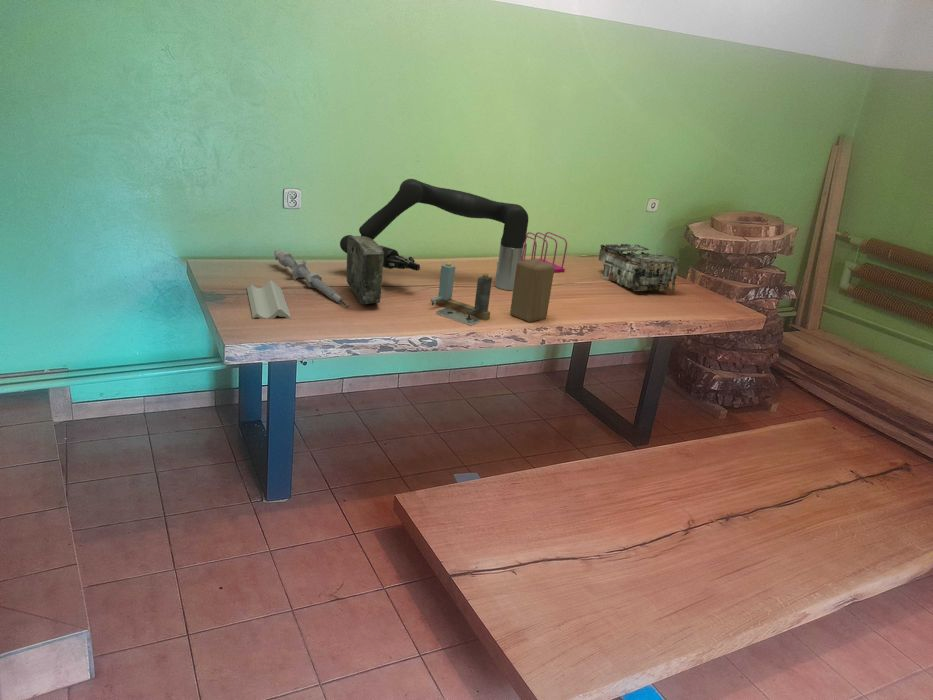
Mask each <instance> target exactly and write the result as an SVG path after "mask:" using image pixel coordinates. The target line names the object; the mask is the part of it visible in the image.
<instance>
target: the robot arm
mask: <svg viewBox="0 0 933 700" xmlns="http://www.w3.org/2000/svg"><path fill="white" fill-rule="evenodd" d="M416 204H424V205H430V206H433V207H436V208H438V209H441V210H442V211H444V212H448V213H450V214H453V215H455V216H459V217H464V218H467V219H468V218H469V219H483V220H484V219H486V220H487V219H488V220H493V221H496V222H499V223H502V224H504V225H503V231H502V236H501V239H500V246H499V253H498V254H499V255H498V261H497V263H496V270H495V271H496V272H495V280H494V287H496V288H498V289H500V290H505V291H507V290H508V291H513V288H514V281H515V274H516V267H517V263H518V262H519V261H521V260H522V254H523V248H524V243H525V239H526V234H527V233H528V232H527V231H528V226H529V215H528V212H527V211H526V209H525V208H524V207H523V206H522V205H521V204H520V205H519V204H517V203H509V202H502V201H497V200H493V199H489V198H486V197H484V196H480V195H477V194H474V193H470V192H468V191H467V192H466V191H462V190H461V191H460V190H456V189H452V188H451V189H450V188H445V187H437V186H434V185H432V184H429V183H426V182H423V181H420V180H418V179H415V178H408V179H405V180H403V181H402V182H401V183H400V185H399V189H398V191H397V192H396V193H395V194H394V196H393V198H392V199H390V201H388V203H386V205H384V206H383V207H382V208H380V209H379V210H378V211H376V212H374V214H373V215H371V217H369V218H368V219H367V220H366V221H365V222H363V224H362V225H361V226H359V229H358V232H359V233H360V236H366V237H369V238H371V239H372V240H374V239H376V238H377V237H378V236H379V235H380V234H382V232H383V231H384V230H385V229H386V228H388V226H389V225H391V224H392V222H393V221H395V220H396V218H398V217H399V216H400V215H402V214H403V213H404V212H405V211H407V210H409V209H410V208H411V207H413V206H415V205H416ZM349 236H353V235H351V234H347V235H345V236H343V237H342V238H341V239H340V241H339V246H340V249H341V250H342V252H344V253H345V254H347V244H348V237H349ZM526 240H527V239H526ZM374 241H375V240H374ZM378 245H379V244H378ZM379 246H380V247H381V248H382V250H383V252H384V262H383V268H386V269H390V270H391V269H399V270H405V269H407V270H412V271H420V269H421V265H420V264H419V263H416V262H415V259H414V257H412V256H408V258H407V257H406V256H404V255H400V254H399V252H398V250H396V249H394V248H391V247H388V246H384V245H379Z"/></svg>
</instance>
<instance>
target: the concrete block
mask: <svg viewBox="0 0 933 700" xmlns="http://www.w3.org/2000/svg"><path fill="white" fill-rule="evenodd" d="M383 262H384V252H383V250H382V248H381V247H380V246H379V244H378V243H377V242H376V241H375V240H372V239H371V238H369V237H366V236H361V235H352V236H349V237H348V244H347V253H346V282H347V285H348V287H350V289H351V291H352V292H353V293H354V295H355V297H356V298H357V300H358V302H359V303H360V304H362V305H369V304H378V303H380V302H381V298H382V297H381V295H382V282H383V271H384V267H383Z"/></svg>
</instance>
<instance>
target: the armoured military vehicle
mask: <svg viewBox="0 0 933 700" xmlns="http://www.w3.org/2000/svg"><path fill="white" fill-rule="evenodd" d="M649 250H650V249H649V248H647V247H645V246H641V245H639V244H636V243H635V244H634V243H633V246H631V244H630V243H629V244H628V243H625V244H624V243H621V244H620V245H618V243H617V244H600V249H599V253H598V255H599V256H598V261H600V262H602V263H604V264H603V275H602V276H601V279H604V280H605V279H606V281H608V280H610V281H611V282H615V283H617V284H618V285H620V286H624V287H625V288H628V289H631V290H633V291H634V292H640V291H641V292H645V291H650V292H651V291H655V292H656V291H658V292H661V291H663V292H664V291H671V288H672V291H674V290H675V287H676V279H677V275H678V270H679V269H678V268H679V262H680V259H679V258H678V257H675V256H672V255H669V254H662V252H661V253H653V254H652V253H650V252H644V251H649ZM637 251H639V252H640V253H636V252H637ZM625 252H626V253H625ZM670 284H671V288H670Z"/></svg>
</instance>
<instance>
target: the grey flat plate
mask: <svg viewBox="0 0 933 700" xmlns="http://www.w3.org/2000/svg"><path fill="white" fill-rule="evenodd" d="M435 314H436V315H439V316H442V317H445V318H448V319H450V320H454V321H457V322H459V323H461V324H466V325H467V326H468V325H469V326H473V325H477V324H478V323H481V322H482V319H479V318H476V317H473V316H470V318H468V315H467V314H464V313H461V312H458V311H455V310H452V309H449V308H447V307H444V308H441V309H438V310H437V311H435Z"/></svg>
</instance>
